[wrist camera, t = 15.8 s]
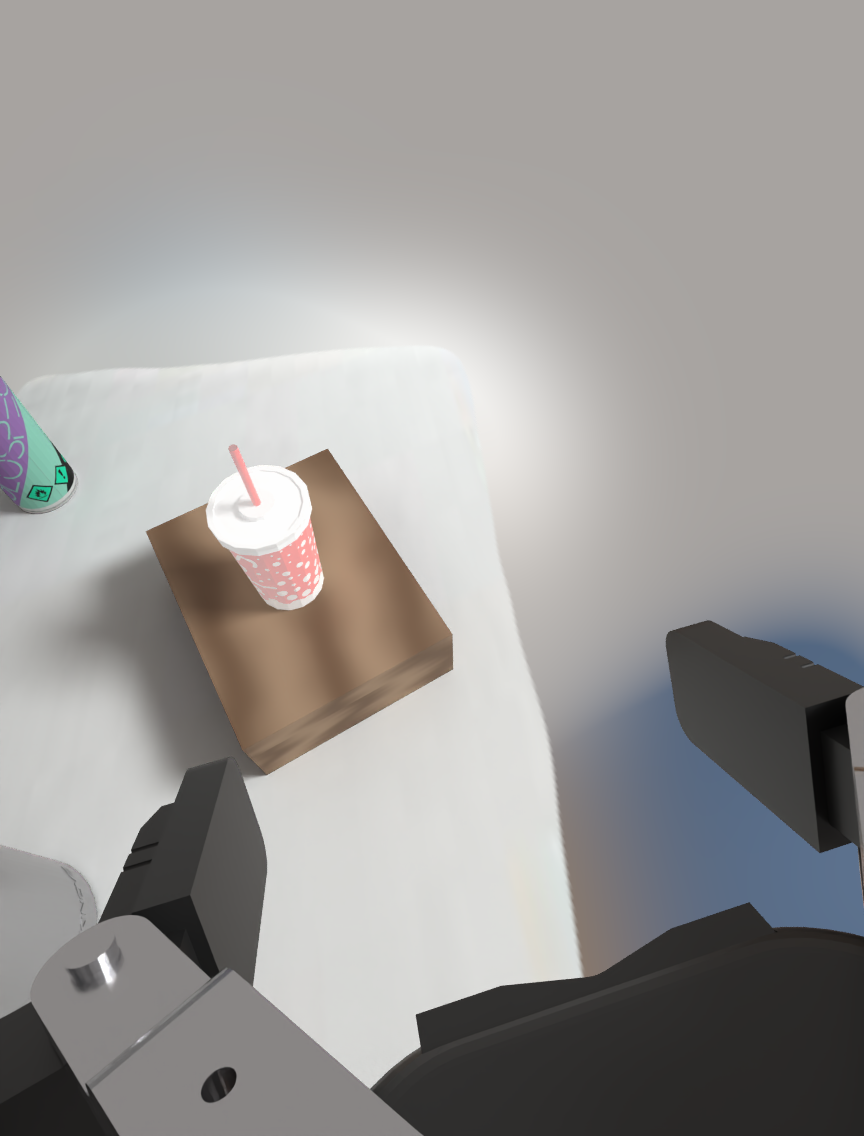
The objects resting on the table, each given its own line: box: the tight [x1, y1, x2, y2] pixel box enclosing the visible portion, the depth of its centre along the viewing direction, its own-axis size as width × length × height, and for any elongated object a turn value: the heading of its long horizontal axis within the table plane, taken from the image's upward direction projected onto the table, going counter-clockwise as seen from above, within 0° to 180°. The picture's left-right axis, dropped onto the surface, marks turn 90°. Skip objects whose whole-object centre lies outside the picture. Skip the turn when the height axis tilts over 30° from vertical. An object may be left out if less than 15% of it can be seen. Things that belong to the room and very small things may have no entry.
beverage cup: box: [206, 445, 324, 610], centre depth 41 cm, size 6×6×14 cm
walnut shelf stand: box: [146, 449, 453, 775], centre depth 50 cm, size 15×19×6 cm
